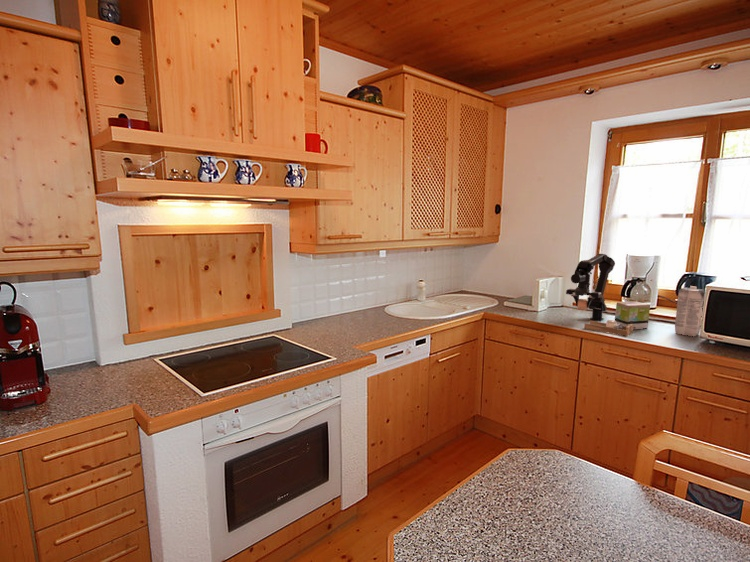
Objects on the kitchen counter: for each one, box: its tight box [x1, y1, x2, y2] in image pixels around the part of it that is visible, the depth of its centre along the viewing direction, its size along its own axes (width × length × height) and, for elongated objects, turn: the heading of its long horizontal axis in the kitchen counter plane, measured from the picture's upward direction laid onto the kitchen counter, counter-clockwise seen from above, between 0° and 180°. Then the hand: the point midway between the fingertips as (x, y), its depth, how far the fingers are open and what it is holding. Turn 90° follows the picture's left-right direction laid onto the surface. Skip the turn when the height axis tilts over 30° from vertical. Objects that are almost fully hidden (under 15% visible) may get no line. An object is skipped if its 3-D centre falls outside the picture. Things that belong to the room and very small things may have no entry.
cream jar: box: [605, 319, 617, 328], centre depth 239 cm, size 6×6×6 cm
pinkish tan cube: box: [576, 298, 588, 311], centre depth 254 cm, size 6×6×6 cm
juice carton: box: [674, 285, 705, 338], centre depth 231 cm, size 9×10×27 cm
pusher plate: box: [616, 323, 623, 330], centre depth 236 cm, size 7×2×4 cm, turn 134°
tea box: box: [614, 301, 651, 330], centre depth 246 cm, size 15×10×15 cm, turn 105°
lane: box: [583, 320, 634, 337], centre depth 240 cm, size 10×22×5 cm, turn 44°
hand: (582, 307), depth 255 cm, fingers closed on pinkish tan cube, 5 cm apart
